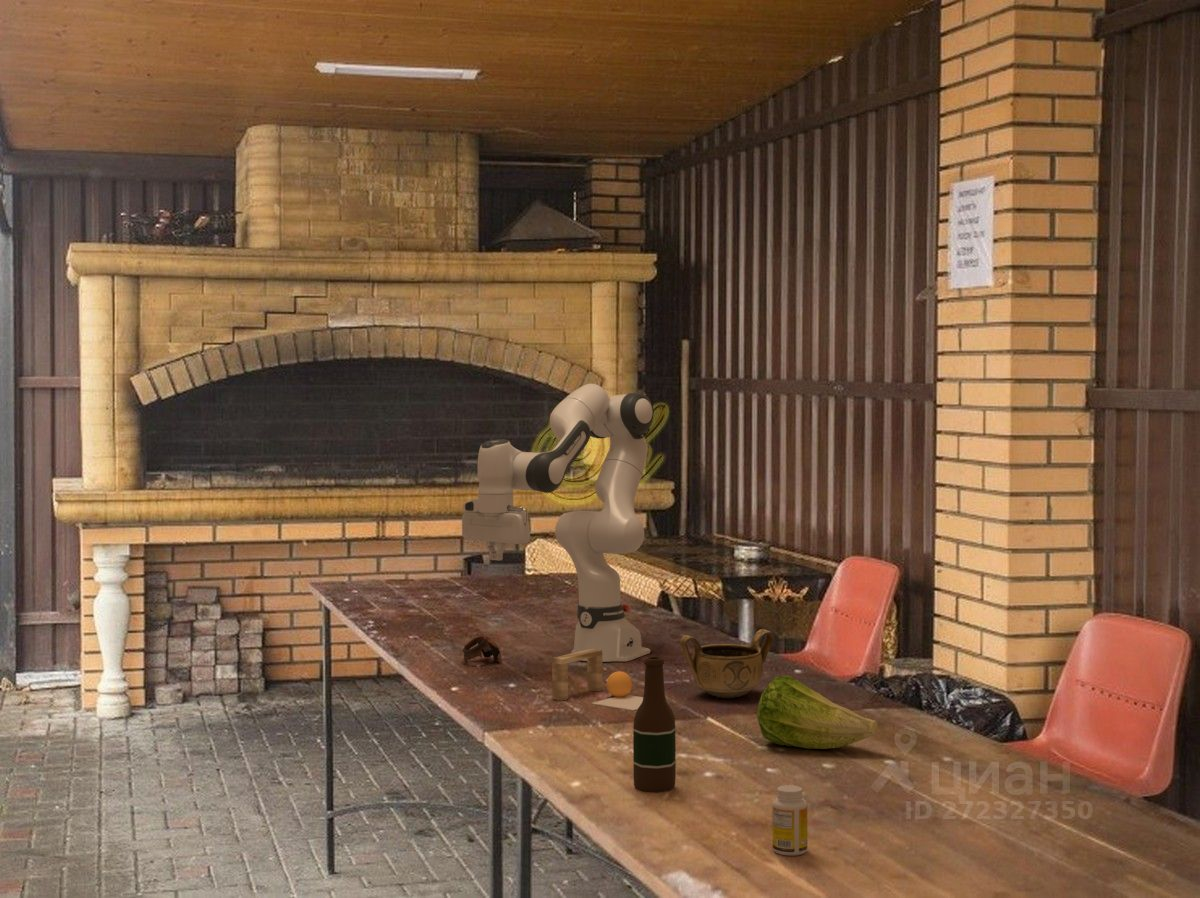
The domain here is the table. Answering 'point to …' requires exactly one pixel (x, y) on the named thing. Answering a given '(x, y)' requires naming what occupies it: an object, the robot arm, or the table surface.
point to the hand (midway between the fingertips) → (496, 560)
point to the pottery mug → (481, 649)
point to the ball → (619, 684)
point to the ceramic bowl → (728, 665)
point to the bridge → (562, 672)
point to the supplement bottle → (789, 821)
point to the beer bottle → (654, 734)
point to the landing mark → (622, 702)
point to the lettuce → (808, 717)
